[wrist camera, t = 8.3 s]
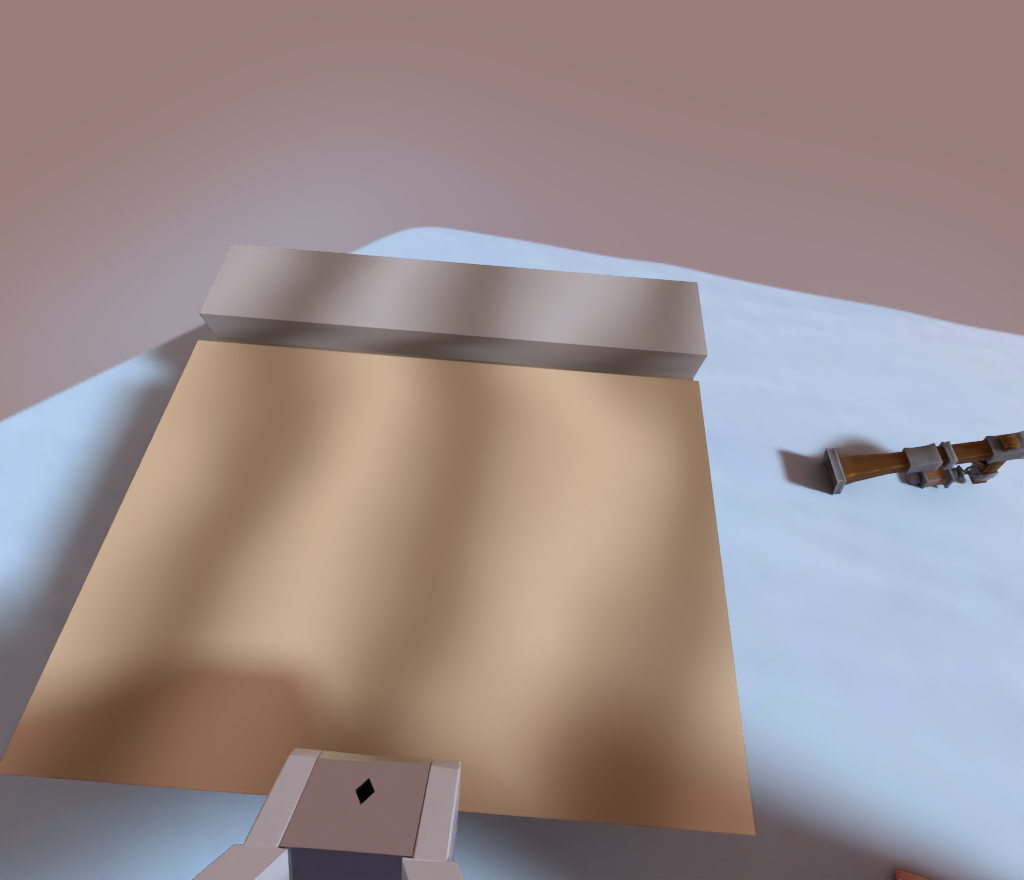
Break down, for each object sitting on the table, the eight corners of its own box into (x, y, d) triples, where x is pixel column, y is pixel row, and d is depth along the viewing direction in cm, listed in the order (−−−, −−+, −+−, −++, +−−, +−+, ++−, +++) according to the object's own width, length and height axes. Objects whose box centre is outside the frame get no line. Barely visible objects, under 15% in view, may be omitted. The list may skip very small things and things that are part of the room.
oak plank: (45, 766, 13) (-5, 773, 12) (218, 365, 19) (197, 340, 18) (728, 822, 13) (755, 835, 12) (684, 403, 19) (698, 381, 18)
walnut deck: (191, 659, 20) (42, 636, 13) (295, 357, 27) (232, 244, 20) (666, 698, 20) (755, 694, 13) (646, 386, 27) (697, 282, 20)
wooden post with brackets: (1013, 492, 24) (1064, 452, 20) (824, 512, 27) (838, 481, 23) (996, 458, 25) (1042, 414, 21) (814, 481, 27) (826, 446, 24)
